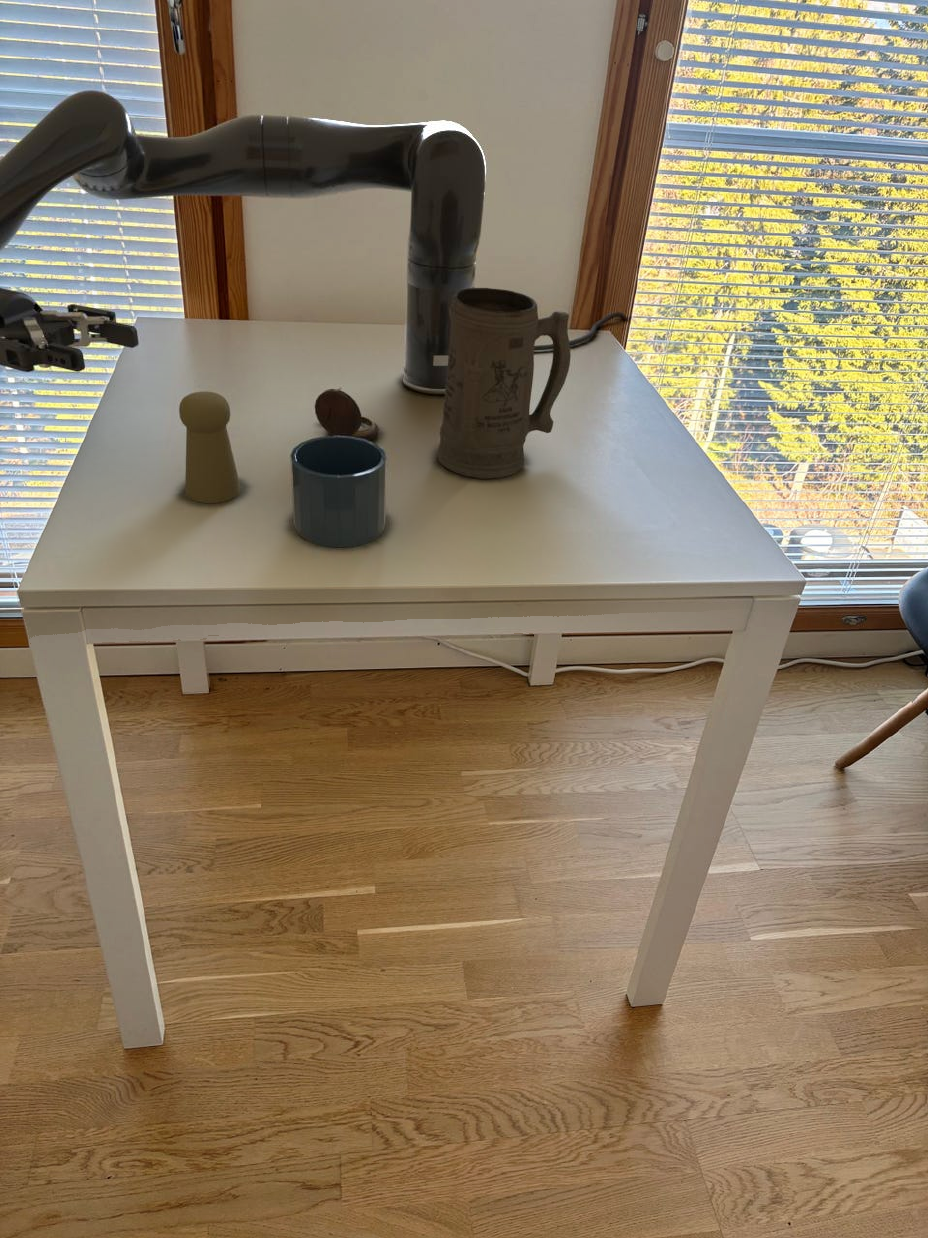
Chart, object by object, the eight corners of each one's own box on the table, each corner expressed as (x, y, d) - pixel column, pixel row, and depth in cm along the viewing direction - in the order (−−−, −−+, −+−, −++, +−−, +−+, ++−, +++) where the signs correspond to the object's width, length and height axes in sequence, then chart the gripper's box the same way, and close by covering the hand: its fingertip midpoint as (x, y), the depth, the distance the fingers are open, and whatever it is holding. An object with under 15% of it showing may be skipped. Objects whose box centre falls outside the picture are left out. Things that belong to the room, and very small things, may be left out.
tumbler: (358, 495, 102) (358, 429, 97) (401, 533, 95) (403, 465, 91) (279, 514, 97) (275, 445, 92) (319, 556, 91) (317, 484, 86)
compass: (386, 430, 117) (387, 375, 112) (356, 453, 111) (356, 396, 106) (333, 416, 119) (332, 362, 115) (300, 438, 113) (298, 382, 109)
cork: (227, 506, 98) (218, 410, 91) (175, 498, 98) (162, 402, 92) (249, 482, 103) (242, 389, 96) (199, 474, 103) (188, 381, 97)
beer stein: (456, 486, 105) (480, 312, 94) (417, 448, 113) (435, 283, 101) (565, 474, 112) (600, 311, 101) (521, 439, 119) (549, 283, 108)
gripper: (-76, 302, 92) (55, 332, 87) (28, 271, 103) (148, 296, 98) (-56, 374, 96) (69, 405, 92) (41, 336, 107) (156, 363, 103)
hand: (109, 348), depth 95 cm, fingers open, 8 cm apart
